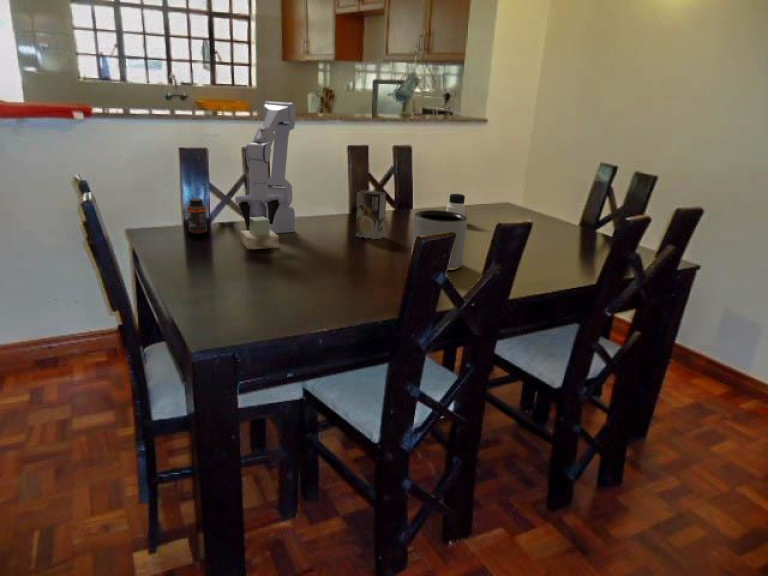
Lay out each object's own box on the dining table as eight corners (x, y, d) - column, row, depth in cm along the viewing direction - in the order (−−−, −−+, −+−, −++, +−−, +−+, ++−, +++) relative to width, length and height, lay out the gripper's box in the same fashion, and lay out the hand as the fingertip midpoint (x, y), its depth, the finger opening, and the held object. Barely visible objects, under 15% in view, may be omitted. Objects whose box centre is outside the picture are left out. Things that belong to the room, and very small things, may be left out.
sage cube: (264, 231, 185) (263, 216, 183) (269, 234, 181) (269, 219, 179) (249, 232, 182) (248, 217, 181) (254, 236, 178) (254, 220, 177)
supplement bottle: (209, 230, 196) (208, 198, 192) (202, 234, 190) (201, 201, 186) (193, 229, 196) (191, 197, 193) (185, 233, 191) (183, 200, 187)
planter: (433, 255, 184) (437, 207, 178) (472, 267, 173) (478, 217, 168) (399, 263, 173) (403, 213, 168) (439, 276, 162) (444, 224, 157)
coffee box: (385, 236, 202) (387, 192, 197) (378, 240, 197) (380, 194, 191) (361, 233, 206) (363, 189, 200) (354, 236, 200) (356, 191, 195)
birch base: (270, 240, 190) (270, 229, 188) (278, 248, 181) (278, 236, 180) (240, 242, 185) (240, 230, 184) (247, 250, 177) (247, 238, 175)
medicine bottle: (464, 225, 227) (467, 196, 223) (446, 224, 227) (449, 195, 223) (462, 221, 234) (465, 193, 230) (445, 220, 234) (447, 192, 230)
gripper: (240, 184, 169) (241, 228, 174) (285, 183, 177) (285, 225, 181) (232, 181, 175) (234, 223, 179) (276, 179, 182) (277, 220, 187)
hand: (259, 224), depth 181 cm, fingers open, 7 cm apart
